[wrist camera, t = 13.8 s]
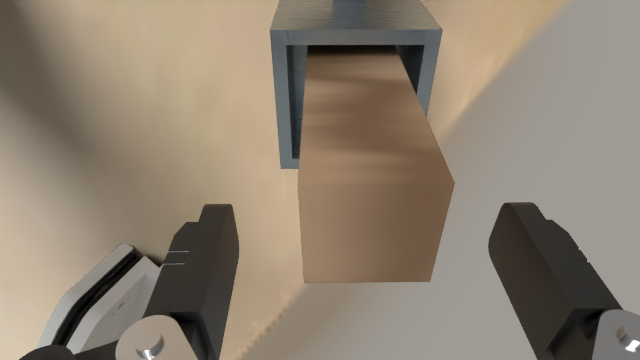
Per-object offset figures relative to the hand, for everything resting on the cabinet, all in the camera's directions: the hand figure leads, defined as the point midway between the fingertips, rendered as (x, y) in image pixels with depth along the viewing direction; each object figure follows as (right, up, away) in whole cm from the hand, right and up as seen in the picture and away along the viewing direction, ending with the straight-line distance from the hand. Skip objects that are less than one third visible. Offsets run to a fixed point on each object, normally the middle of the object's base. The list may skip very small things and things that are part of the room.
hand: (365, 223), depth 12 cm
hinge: (-23, -11, +31) cm, 40 cm away
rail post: (0, +7, +9) cm, 11 cm away
